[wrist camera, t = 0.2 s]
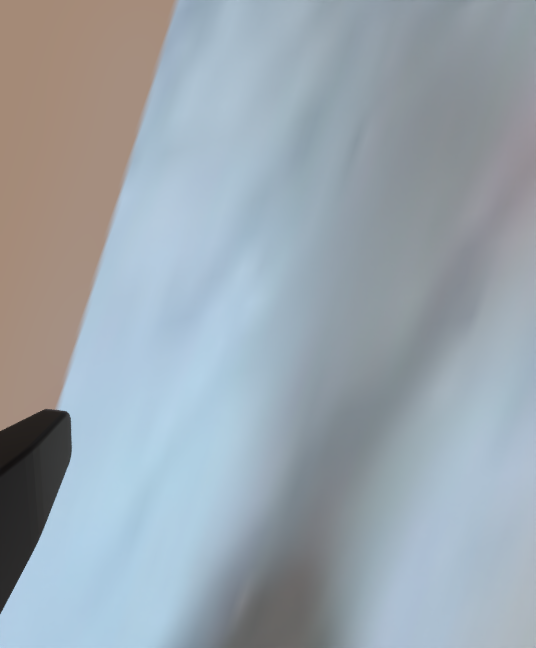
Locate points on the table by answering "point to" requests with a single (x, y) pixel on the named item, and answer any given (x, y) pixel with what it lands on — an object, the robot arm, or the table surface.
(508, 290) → the table surface
